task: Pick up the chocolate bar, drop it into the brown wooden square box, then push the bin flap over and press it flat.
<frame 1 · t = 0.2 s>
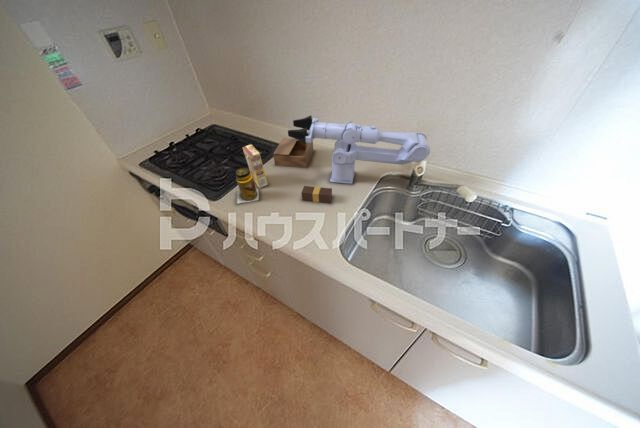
hand: (290, 128, 90), 21 cm above the worktop, tool horizontal, fingers open, 7 cm apart
condiment: (248, 196, 96), on the worktop
chocolate bar: (317, 198, 93), on the worktop
candy box: (259, 182, 103), on the worktop
brown wooden square box: (295, 158, 115), on the worktop
bin flap: (309, 140, 106), point 10 cm above the worktop, hinge at 100.0°
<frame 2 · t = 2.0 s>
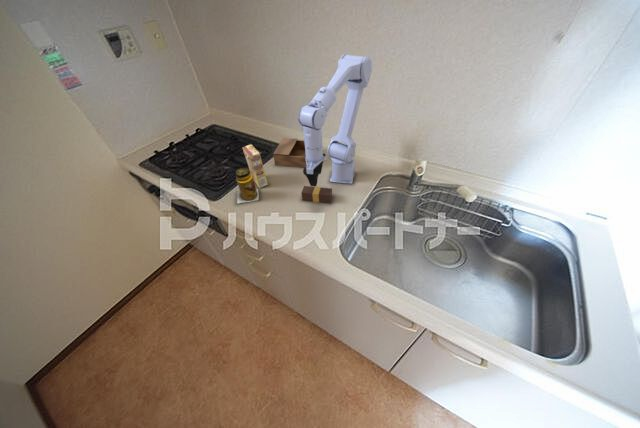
hand: (315, 179, 86), 9 cm above the worktop, tool pointing down, fingers open, 7 cm apart
nothing on the worktop moved.
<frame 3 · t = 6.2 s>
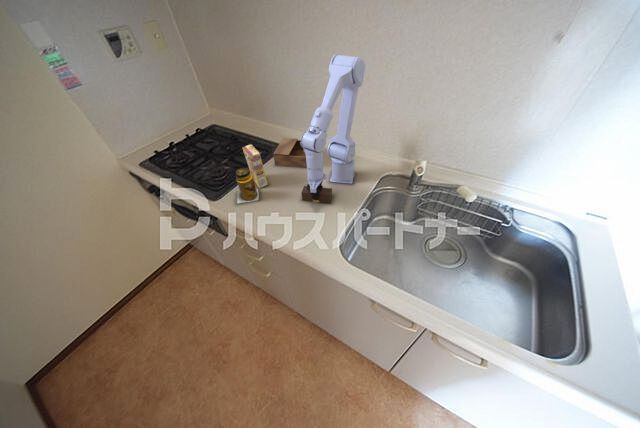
hand: (317, 195, 92), 2 cm above the worktop, tool pointing down, fingers closed on chocolate bar, 4 cm apart
chocolate bar: (317, 198, 93), on the worktop, touching gripper
everything else where it was.
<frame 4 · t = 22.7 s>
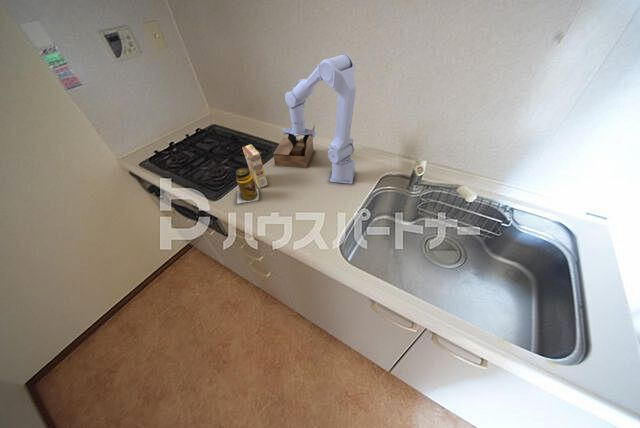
hand: (301, 149, 111), 5 cm above the worktop, tool pointing down, fingers closed on chocolate bar, 4 cm apart
chocolate bar: (301, 152, 112), point 3 cm above the worktop, touching gripper
bin flap: (309, 140, 106), point 10 cm above the worktop, hinge at 100.8°, touching gripper
everything else where it was.
when the fingers open (5 cm above the worktop, at t = 23.0 s): chocolate bar stays where it is, resting on brown wooden square box.
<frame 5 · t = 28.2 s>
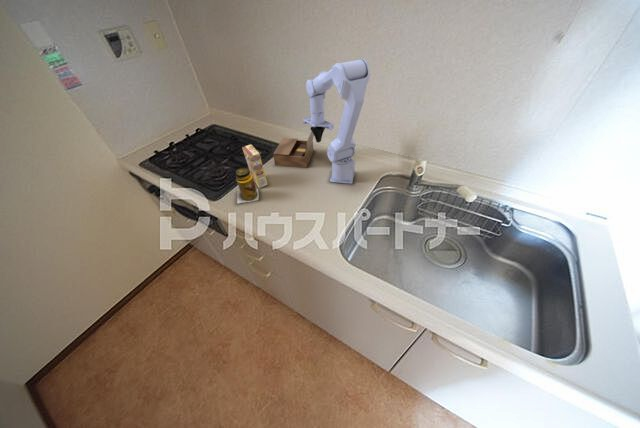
hand: (318, 141, 108), 8 cm above the worktop, tool pointing down, fingers closed
chocolate bar: (301, 157, 114), point 1 cm above the worktop, touching brown wooden square box
bin flap: (310, 140, 106), point 10 cm above the worktop, hinge at 102.0°, touching gripper
everything else where it was.
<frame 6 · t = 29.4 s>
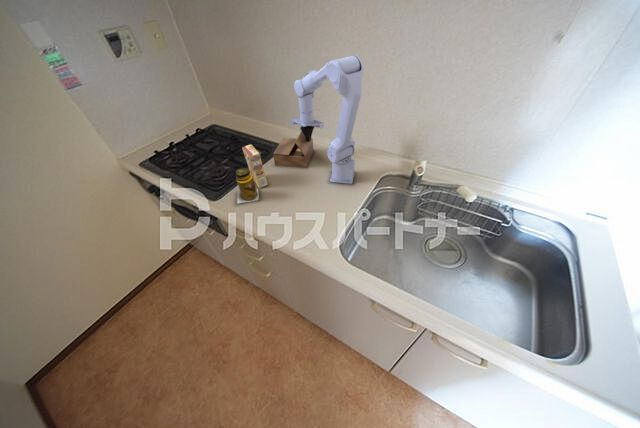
hand: (308, 140, 109), 8 cm above the worktop, tool pointing down, fingers closed
bin flap: (304, 141, 107), point 9 cm above the worktop, hinge at 59.1°, touching gripper
everything else where it was.
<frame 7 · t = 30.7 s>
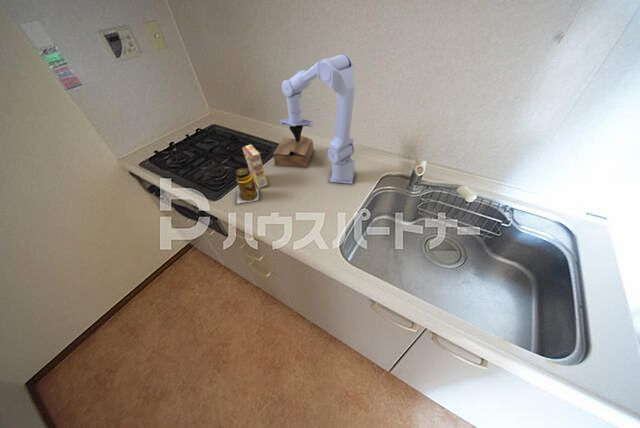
hand: (298, 140, 110), 8 cm above the worktop, tool pointing down, fingers closed
bin flap: (301, 144, 109), point 7 cm above the worktop, hinge at 18.9°, touching gripper
everything else where it was.
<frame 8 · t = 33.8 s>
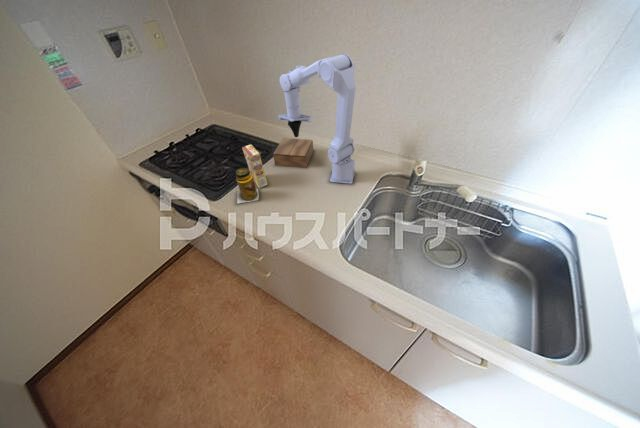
hand: (296, 136, 109), 10 cm above the worktop, tool pointing down, fingers closed
bin flap: (301, 147, 110), point 6 cm above the worktop, hinge at -0.5°
everything else where it was.
at the end: chocolate bar inside the target area in the brown wooden square box (3.5 cm from its centre), point 0.5 cm above the brown wooden square box's base; bin flap at +0° (first picture: +100°) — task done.
